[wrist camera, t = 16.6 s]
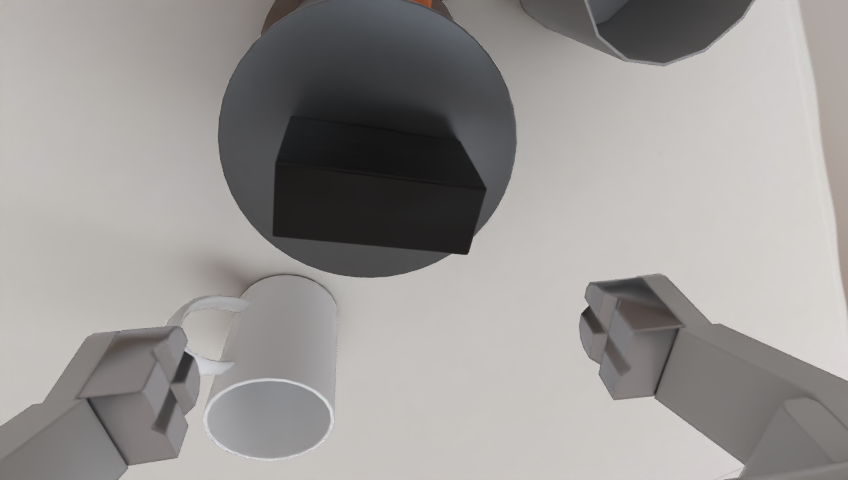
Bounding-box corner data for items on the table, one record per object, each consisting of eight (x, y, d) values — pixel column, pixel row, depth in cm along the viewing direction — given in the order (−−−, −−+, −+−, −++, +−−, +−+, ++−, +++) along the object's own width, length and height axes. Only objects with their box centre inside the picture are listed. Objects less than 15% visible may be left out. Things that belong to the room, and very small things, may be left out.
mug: (357, 313, 39) (360, 420, 30) (289, 361, 41) (273, 475, 32) (242, 217, 33) (203, 316, 24) (168, 279, 35) (107, 392, 26)
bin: (273, -51, 24) (166, -41, 10) (472, -7, 26) (616, 52, 12) (267, 148, 29) (192, 338, 15) (433, 170, 32) (500, 353, 17)
